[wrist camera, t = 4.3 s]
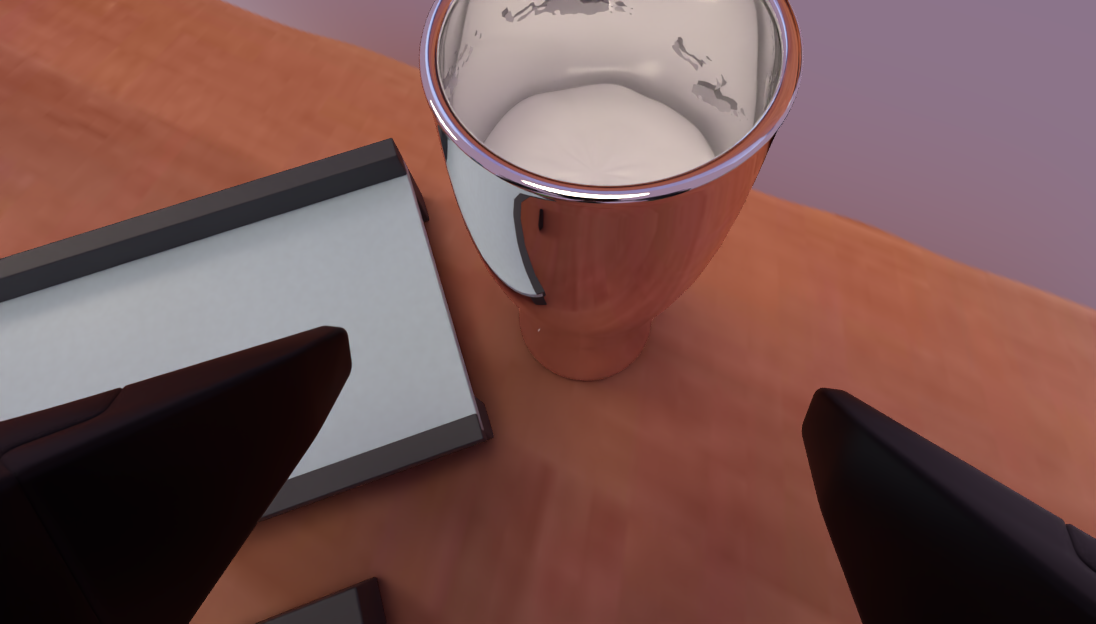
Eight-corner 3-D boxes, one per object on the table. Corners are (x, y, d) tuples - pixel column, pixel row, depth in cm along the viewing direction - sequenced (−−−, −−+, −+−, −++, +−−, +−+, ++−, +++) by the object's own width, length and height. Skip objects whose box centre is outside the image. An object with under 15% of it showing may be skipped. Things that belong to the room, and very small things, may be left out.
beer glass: (570, 224, 24) (568, -143, 10) (689, 303, 22) (893, -3, 8) (480, 330, 22) (321, 72, 8) (601, 424, 21) (664, 303, 7)
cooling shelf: (496, 444, 21) (477, 435, 16) (25, 613, 19) (-129, 651, 15) (422, 195, 25) (391, 137, 21) (33, 319, 24) (-85, 284, 19)
